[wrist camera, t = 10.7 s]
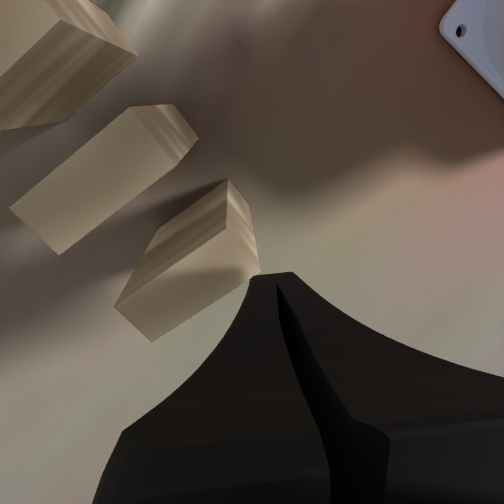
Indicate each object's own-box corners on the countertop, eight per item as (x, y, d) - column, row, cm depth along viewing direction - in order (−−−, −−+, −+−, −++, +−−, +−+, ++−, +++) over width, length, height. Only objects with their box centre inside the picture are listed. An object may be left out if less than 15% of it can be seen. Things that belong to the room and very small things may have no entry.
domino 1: (138, 56, 16) (60, 19, 9) (62, 122, 17) (-66, 139, 10) (107, 14, 15) (-7, -66, 8) (29, 85, 16) (-136, 73, 9)
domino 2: (199, 138, 18) (176, 165, 10) (126, 194, 18) (58, 255, 11) (173, 103, 17) (129, 106, 10) (99, 163, 18) (8, 208, 10)
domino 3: (249, 206, 19) (260, 272, 12) (180, 254, 20) (152, 342, 13) (228, 178, 18) (226, 228, 11) (157, 229, 19) (113, 306, 12)
